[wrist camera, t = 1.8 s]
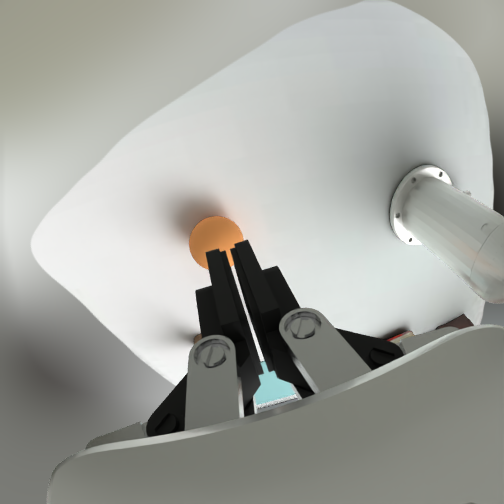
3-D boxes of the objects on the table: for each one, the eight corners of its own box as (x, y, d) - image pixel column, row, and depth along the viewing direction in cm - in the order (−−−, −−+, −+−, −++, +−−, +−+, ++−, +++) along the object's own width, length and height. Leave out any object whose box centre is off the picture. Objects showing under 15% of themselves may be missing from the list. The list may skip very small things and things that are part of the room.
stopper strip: (297, 397, 58) (301, 407, 56) (298, 400, 59) (301, 409, 57) (243, 412, 58) (245, 422, 56) (244, 415, 58) (246, 424, 56)
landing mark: (295, 352, 50) (295, 352, 50) (301, 391, 57) (301, 391, 57) (217, 373, 49) (217, 374, 49) (236, 409, 56) (236, 409, 56)
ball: (233, 202, 34) (241, 223, 29) (244, 245, 37) (253, 273, 32) (182, 216, 34) (181, 240, 29) (197, 258, 37) (199, 287, 32)
